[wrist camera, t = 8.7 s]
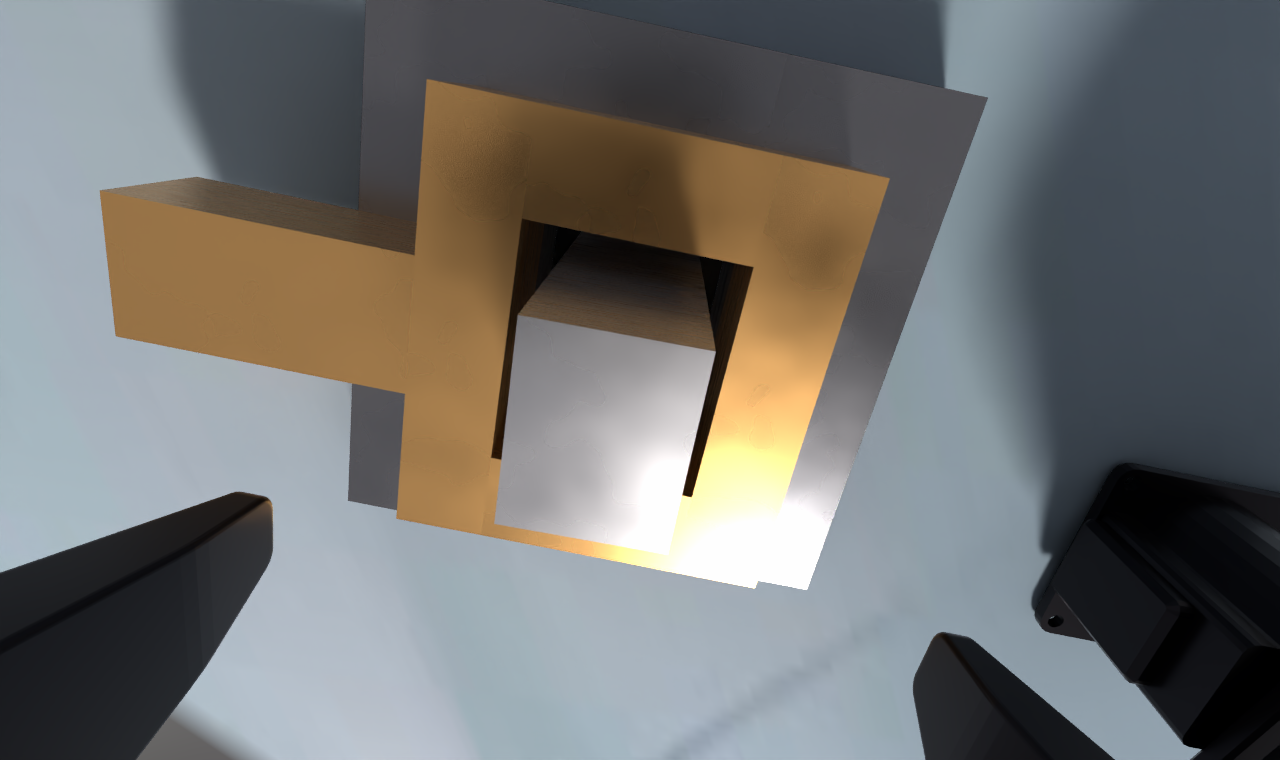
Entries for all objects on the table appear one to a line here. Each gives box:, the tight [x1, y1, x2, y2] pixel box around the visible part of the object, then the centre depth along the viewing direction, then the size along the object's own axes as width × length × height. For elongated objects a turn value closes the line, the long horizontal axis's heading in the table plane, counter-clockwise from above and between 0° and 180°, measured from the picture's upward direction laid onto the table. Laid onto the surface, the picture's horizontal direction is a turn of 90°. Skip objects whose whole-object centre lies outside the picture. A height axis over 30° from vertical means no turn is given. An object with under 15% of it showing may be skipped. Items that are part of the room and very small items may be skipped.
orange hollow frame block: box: [100, 0, 988, 590], centre depth 17 cm, size 18×14×6 cm
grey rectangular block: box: [494, 231, 716, 555], centre depth 15 cm, size 3×4×9 cm
